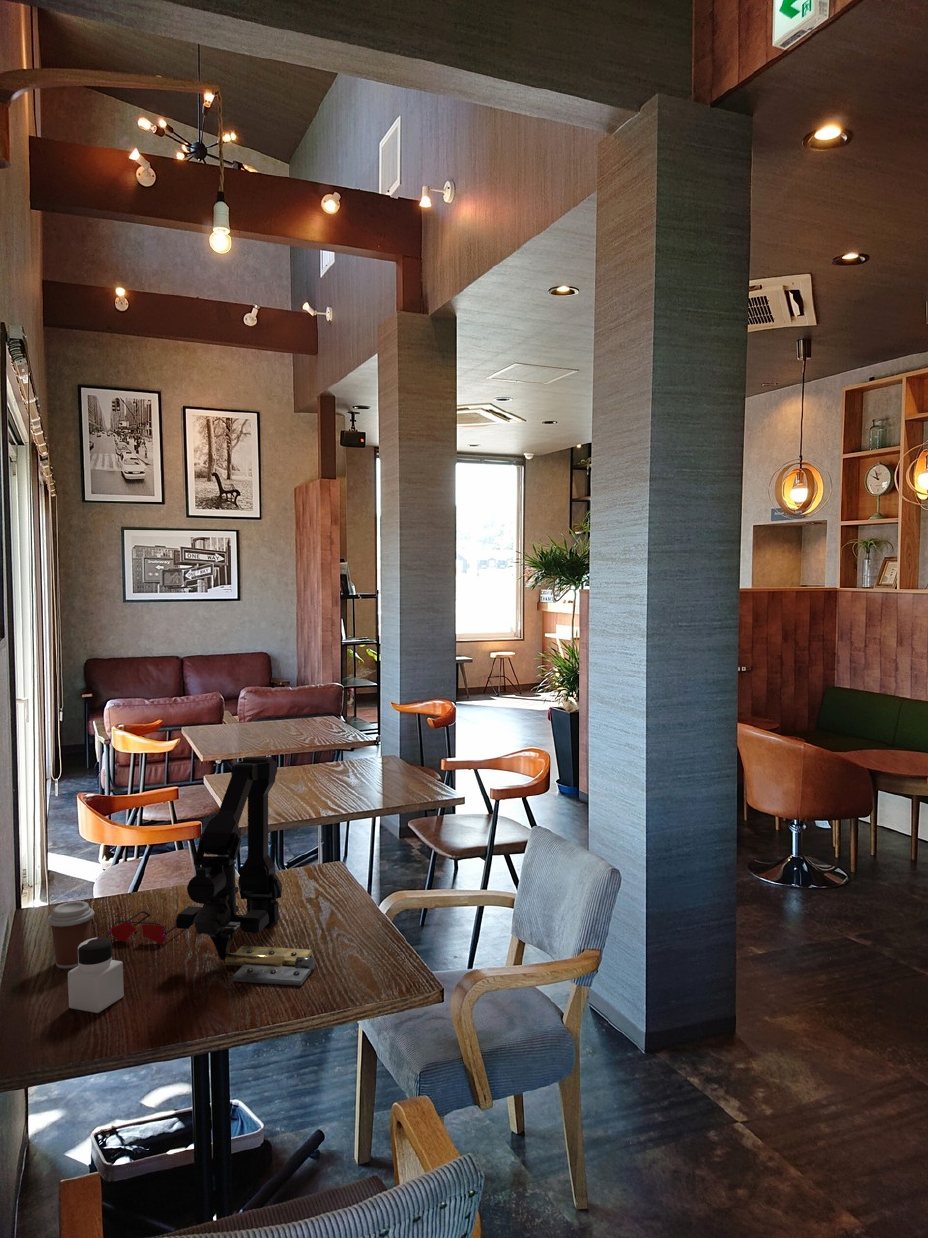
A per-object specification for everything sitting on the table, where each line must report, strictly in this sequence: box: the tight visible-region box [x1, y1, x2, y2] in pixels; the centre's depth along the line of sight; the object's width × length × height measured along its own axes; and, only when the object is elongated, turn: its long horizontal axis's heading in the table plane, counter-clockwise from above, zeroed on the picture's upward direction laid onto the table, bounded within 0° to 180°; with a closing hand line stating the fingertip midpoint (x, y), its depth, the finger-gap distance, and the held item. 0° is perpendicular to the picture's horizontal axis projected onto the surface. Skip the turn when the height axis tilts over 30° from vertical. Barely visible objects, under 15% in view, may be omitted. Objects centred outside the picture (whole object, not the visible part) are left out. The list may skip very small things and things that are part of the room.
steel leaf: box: [232, 957, 316, 987], centre depth 177 cm, size 14×8×2 cm, turn 80°
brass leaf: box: [224, 945, 313, 967], centre depth 183 cm, size 16×8×2 cm, turn 80°
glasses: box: [109, 910, 177, 945], centre depth 202 cm, size 14×16×5 cm
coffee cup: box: [47, 900, 95, 970], centre depth 184 cm, size 9×9×12 cm
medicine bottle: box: [67, 936, 125, 1014], centre depth 166 cm, size 7×7×12 cm
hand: (223, 959), depth 182 cm, fingers closed
